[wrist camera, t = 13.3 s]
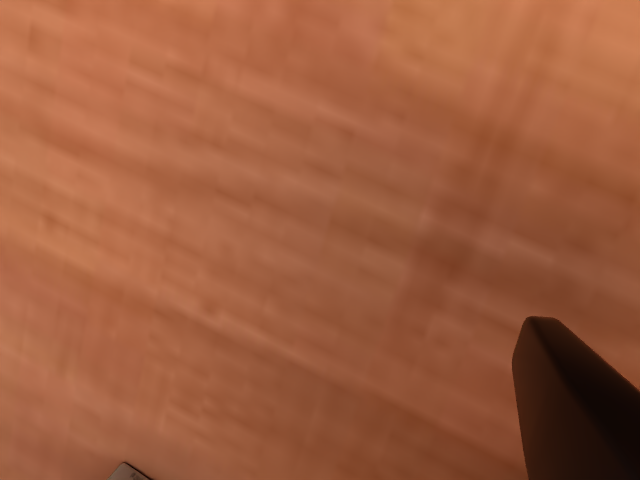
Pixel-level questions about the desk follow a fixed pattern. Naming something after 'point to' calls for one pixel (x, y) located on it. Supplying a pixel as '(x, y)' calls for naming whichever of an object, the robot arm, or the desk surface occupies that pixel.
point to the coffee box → (126, 473)
